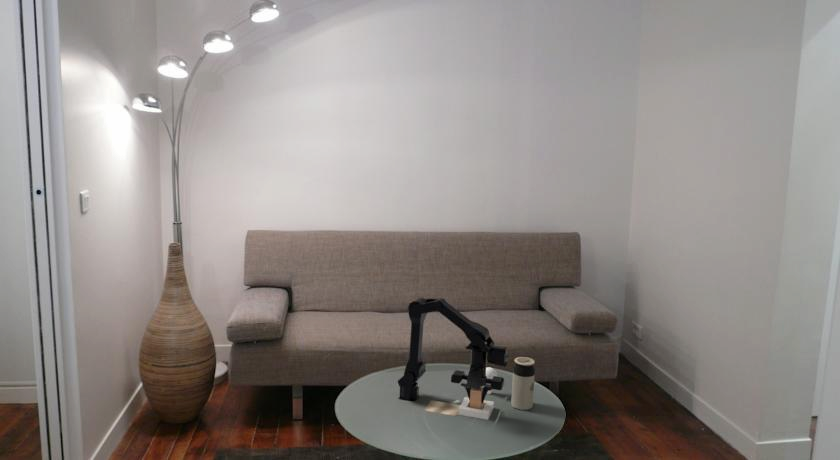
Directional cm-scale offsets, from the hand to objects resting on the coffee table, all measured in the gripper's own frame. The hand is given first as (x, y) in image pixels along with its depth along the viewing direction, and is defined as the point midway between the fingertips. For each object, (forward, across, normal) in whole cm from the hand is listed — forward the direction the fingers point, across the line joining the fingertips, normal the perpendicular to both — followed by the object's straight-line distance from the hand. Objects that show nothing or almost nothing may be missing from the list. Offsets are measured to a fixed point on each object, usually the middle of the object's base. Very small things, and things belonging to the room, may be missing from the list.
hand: (476, 401), depth 220 cm
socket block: (+4, 0, 0) cm, 4 cm away
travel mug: (+4, +15, +12) cm, 20 cm away
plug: (+2, 0, 0) cm, 2 cm away
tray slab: (+4, -12, -2) cm, 13 cm away
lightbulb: (+4, +1, +17) cm, 18 cm away
